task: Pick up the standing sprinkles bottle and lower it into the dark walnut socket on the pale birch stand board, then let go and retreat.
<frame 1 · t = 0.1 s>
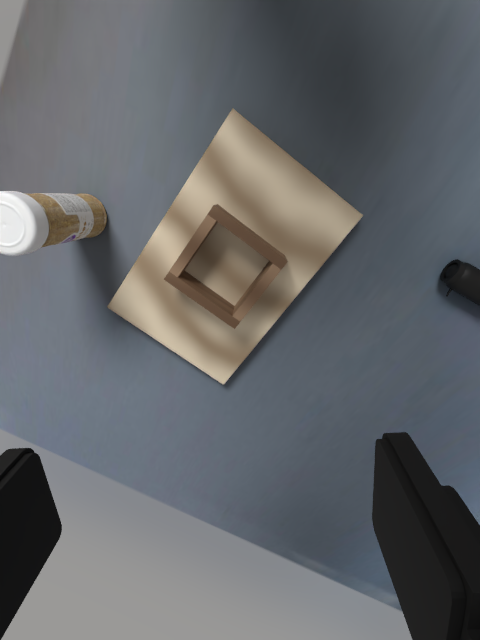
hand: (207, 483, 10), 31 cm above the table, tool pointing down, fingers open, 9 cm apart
spice stand: (228, 261, 39), on the table
sprinkles bottle: (88, 215, 38), on the table
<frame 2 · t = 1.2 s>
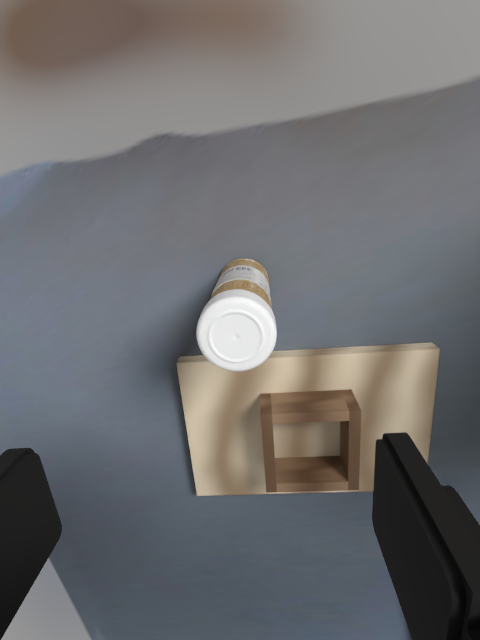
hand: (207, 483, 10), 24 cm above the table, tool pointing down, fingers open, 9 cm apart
spice stand: (304, 420, 37), on the table
sprinkles bottle: (244, 281, 33), on the table
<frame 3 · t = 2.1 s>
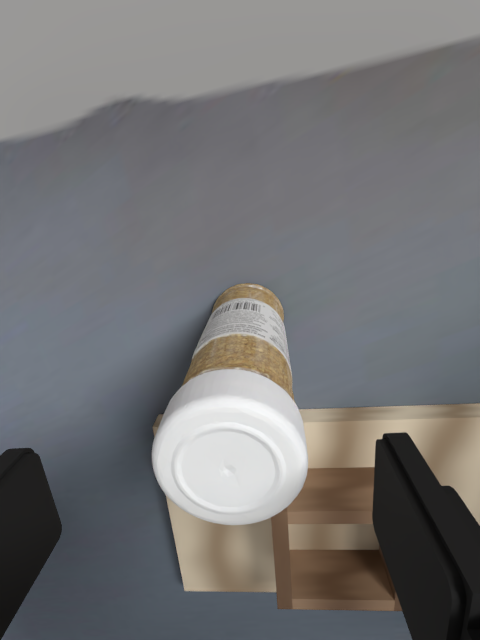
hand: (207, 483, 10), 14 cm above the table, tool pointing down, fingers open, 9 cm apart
spice stand: (329, 499, 27), on the table
sprinkles bottle: (248, 314, 23), on the table
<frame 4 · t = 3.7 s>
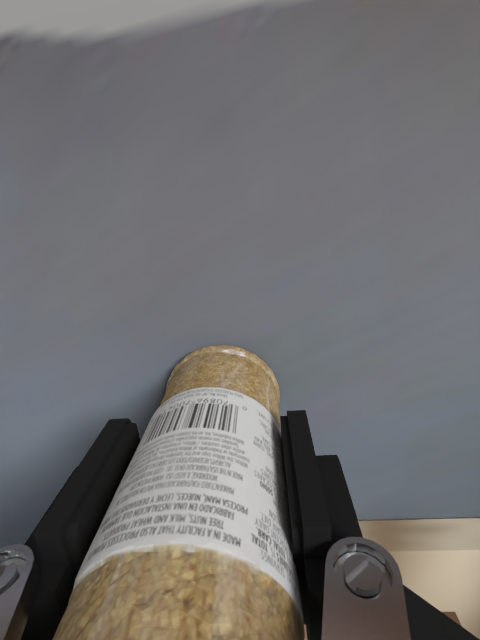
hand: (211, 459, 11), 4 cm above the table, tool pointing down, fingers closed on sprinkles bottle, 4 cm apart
spice stand: (346, 636, 19), on the table
sprinkles bottle: (225, 389, 15), on the table, touching gripper
when the fingers open (7 cm above the table, at t = 9.2 s): sprinkles bottle drops 2 cm, resting on spice stand.
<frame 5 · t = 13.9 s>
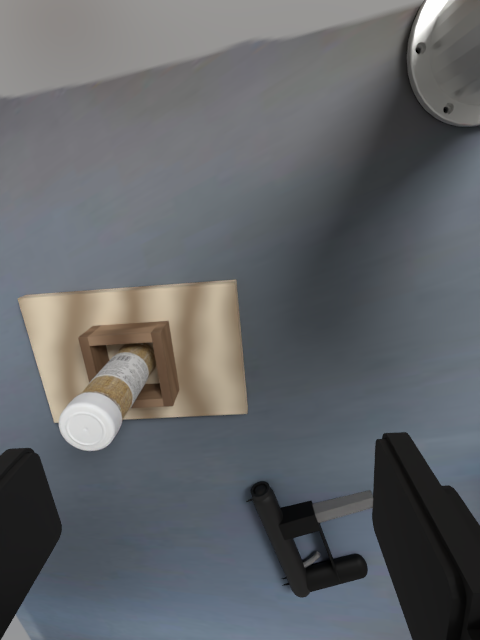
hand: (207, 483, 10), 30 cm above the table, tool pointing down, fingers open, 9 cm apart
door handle: (319, 521, 50), on the table
spice stand: (141, 353, 42), on the table
sprinkles bottle: (139, 356, 41), point 1 cm above the table, touching spice stand
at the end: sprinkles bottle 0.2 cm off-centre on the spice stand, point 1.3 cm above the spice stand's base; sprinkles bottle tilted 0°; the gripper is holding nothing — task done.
